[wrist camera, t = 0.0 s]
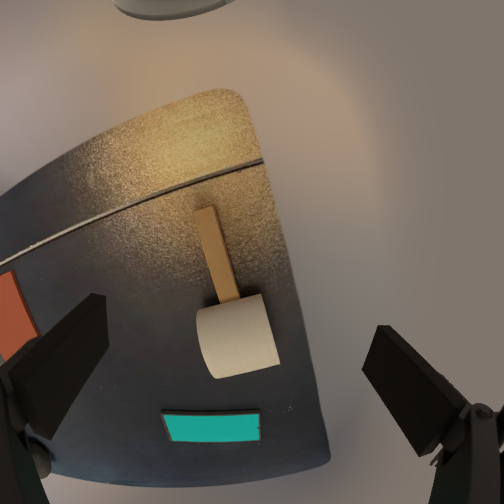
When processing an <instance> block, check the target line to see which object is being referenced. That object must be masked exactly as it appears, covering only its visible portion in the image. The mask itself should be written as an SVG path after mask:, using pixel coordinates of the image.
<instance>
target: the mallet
mask: <svg viewBox="0 0 504 504" xmlns="http://www.w3.org/2000/svg"><path fill="white" fill-rule="evenodd" d="M192 214H193V217H194V220H195V224H196V227H197V231H198V234H199V237H200V241H201V244H202V247H203V251H204V254H205V257H206V260H207V264H208V267H209V270H210V273H211V276H212V280H213V283H214V286H215V289H216V292H217V295H218V298H219V301H220V304H219V305H215V306H211V307H207V308H203V309H199V310H198V312H197V317H196V323H197V333H198V339H199V343H200V347H201V351H202V354H203V357H204V360H205V362H206V365H207V367H208V369H209V371H210V373H211V374H212V375H213V377H214V378H216V379H218V378H223V377H228V376H233V375H237V374H241V373H246V372H250V371H254V370H258V369H262V368H266V367H270V366H274V365H278V364H280V361H279V357H278V353H277V350H276V346H275V342H274V339H273V335H272V331H271V328H270V324H269V321H268V317H267V313H266V310H265V306H264V302H263V299H262V295H261V294H257V295H253V296H249V297H246V298H242V299H240V293H239V290H238V287H237V283H236V280H235V276H234V273H233V270H232V266H231V263H230V259H229V256H228V253H227V249H226V246H225V242H224V239H223V235H222V232H221V228H220V225H219V221H218V217H217V214H216V210H215V207H214V205H211V206H207V207H204V208H200V209H197V210H194V211H193V212H192Z"/></svg>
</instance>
